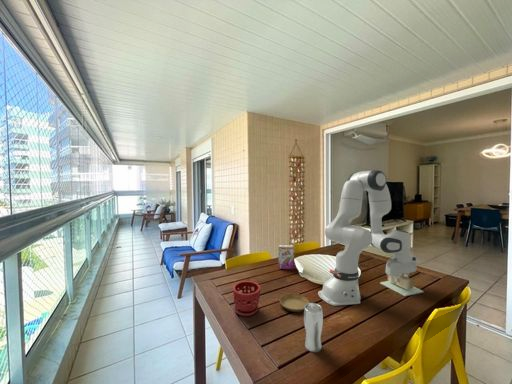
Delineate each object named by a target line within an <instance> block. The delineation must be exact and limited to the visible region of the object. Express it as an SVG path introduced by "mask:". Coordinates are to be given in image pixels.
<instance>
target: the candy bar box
mask: <svg viewBox="0 0 512 384" xmlns="http://www.w3.org/2000/svg"><path fill="white" fill-rule="evenodd" d="M294 269H295V246H294V245H288V244H287V245H285V244H278V270H294Z"/></svg>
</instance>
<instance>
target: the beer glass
mask: <svg viewBox="0 0 512 384" xmlns="http://www.w3.org/2000/svg"><path fill="white" fill-rule="evenodd" d="M323 322H324V316H323V307H322V306H321V305H320V304H318V303H315V302H309V303H307V304H306V305H305V306H304V310H303V324H304V330H305V342H304V346H305V348H306V350H307V351H309V352H312V353H319V352H320V351H321V350H322V346H323V345H322V342H321V341H322V339H321V338H322V337H321V336H322V331H323V326H324V325H323V324H324V323H323Z"/></svg>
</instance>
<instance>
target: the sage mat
mask: <svg viewBox="0 0 512 384" xmlns="http://www.w3.org/2000/svg"><path fill="white" fill-rule="evenodd" d="M379 284H381V285H382V286H384V287H386V288H388V289H390V290H392V291H394V292H396V293H398V294H400V295H401V296H404V297H408V296H412V295H417V294H421V293H424V290H422V289H420V288H418V287H415V286H413V288H411V289H404V288H402V287H400V286H398V285H396V284H394V283H392V282H390V281H388V280H385V281H380V282H379Z"/></svg>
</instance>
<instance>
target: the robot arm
mask: <svg viewBox="0 0 512 384" xmlns="http://www.w3.org/2000/svg"><path fill="white" fill-rule="evenodd" d="M387 184H388V183H387V176H386V174H385V173H384V172H383V171H381V170H377V169H374V170H363V171H358V172H353V173H351V174H350V175H349V176H348V177H347V181H345V182H344V184H343V186H342V190H341V193H340V194H341V195H340V200H339V206H338V212H337V213H336V214H337V215H336V217H335V218H334V219H333V220H332V221H331V222H330V223H328V224H327V225H326V226H325V228H324V236H325V237H326V238H327V240H329V241H332V242H334V243H338V244H341V245H344V250H340V251H338V252H337V254H336V256H335V268H334V269H332V268H330V269H329V273H330V274H332V276H331V277H330V278H329V279H327V280H326V281H325V282H324V283H323V285H322V289H321V290H319V291H318V292H317V294H318V296H319V298H320V299H322V301H324V302H325V303H327V304H329V305H331V306H334V307H335V306H347V305H348V306H349V305H359V304H361V299H362V297H361V291H360V288H359V276H360V275H359V273H360V272H359V259H360V255H361V253H362V252H363V251H364V250H366V249H367V248H369V247H370V246H372V247H374V248H375V249H378V250H380V251H381V252H383V253H386V254H390V253H391V255H392V257H391V258H389V259H388V260H387V261H386V265H385V274H386V275H387V276H388V275H390V276H393V277H394V281H395V282H399V279H398V278H397V276H398V275H400V274H401V275H404V276H406V277H409V275H410V274H411V273H415V272H417V269H418V267H417V266H418V265H417V264H418V263H417V261H418V257H417V256H415V255H412V254H411V253H412V252H411V246H412V239H411V235H410V233H409V232H408V231H406V230H403V229H398V228H397V229H394V230H393V231H391V232H390V233H387V234H385V233H384V231H383V224H382V220H383V219H382V218H383V217H384V216H386V215H388V214H389V213H390V212H391V210H392V198H391V193H390V190H389V187H388V185H387ZM364 191H366V192H367V193H368V204H369V225H370V226H369V227H370V230H369V229H367V228H365V227H362V226H358V225H352V224H351V222H352V221H353V220H354V219H357V218H359V217H360V216H361V214H362V206H363V198H364V197H363V195H364Z"/></svg>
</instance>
